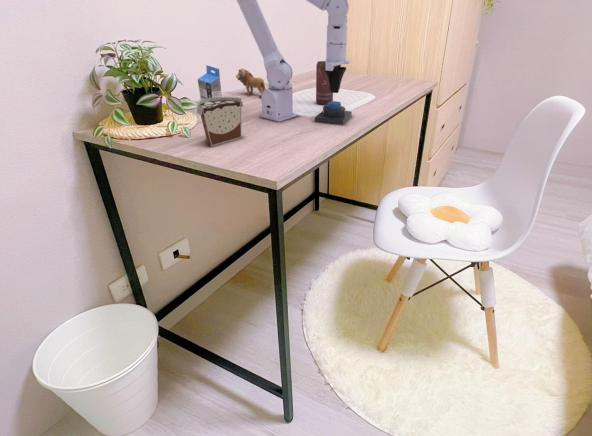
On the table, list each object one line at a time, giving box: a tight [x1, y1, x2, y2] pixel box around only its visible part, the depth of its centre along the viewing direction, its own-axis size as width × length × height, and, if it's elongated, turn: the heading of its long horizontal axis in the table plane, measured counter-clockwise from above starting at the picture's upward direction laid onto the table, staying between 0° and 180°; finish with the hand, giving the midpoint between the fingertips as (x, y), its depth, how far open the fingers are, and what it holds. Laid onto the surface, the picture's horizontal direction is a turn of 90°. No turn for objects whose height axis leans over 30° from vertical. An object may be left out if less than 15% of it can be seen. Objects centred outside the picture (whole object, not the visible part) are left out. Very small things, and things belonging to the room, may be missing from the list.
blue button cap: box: [328, 100, 342, 110], centre depth 114 cm, size 4×4×2 cm
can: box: [315, 60, 334, 106], centre depth 130 cm, size 6×6×14 cm
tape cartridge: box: [197, 64, 223, 101], centre depth 121 cm, size 9×4×12 cm, turn 44°
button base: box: [314, 105, 353, 126], centre depth 116 cm, size 11×9×4 cm
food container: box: [196, 96, 244, 147], centre depth 94 cm, size 12×6×10 cm, turn 141°
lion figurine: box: [235, 68, 267, 96], centre depth 138 cm, size 15×5×9 cm, turn 62°
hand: (334, 92), depth 112 cm, fingers closed
